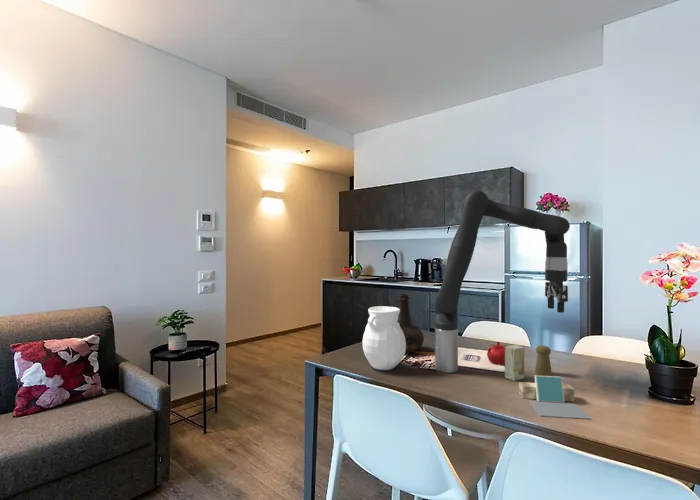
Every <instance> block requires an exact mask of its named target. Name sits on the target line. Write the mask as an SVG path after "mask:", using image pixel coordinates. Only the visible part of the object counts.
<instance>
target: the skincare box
mask: <svg viewBox="0 0 700 500" xmlns="http://www.w3.org/2000/svg"><path fill="white" fill-rule="evenodd" d="M506 346H507V347H506ZM506 346H504V347H505V364H504V378H505V379H509V380H511V381H513V382H514V381H520V380H523V379H525V347H524V346H520V345H518V344H514V345H506Z"/></svg>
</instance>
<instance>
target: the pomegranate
mask: <svg viewBox="0 0 700 500" xmlns="http://www.w3.org/2000/svg"><path fill="white" fill-rule="evenodd" d="M489 346H490V347H489V348H488V350H487V352H486V356H487V359H488V361H490V363H492V364H494V365H498V364H500V365H501V366H502V365H503V364H504V365H505V347H507V346H508V345H504V344H500V341H497V342H496V343H495V345H494V344H489Z"/></svg>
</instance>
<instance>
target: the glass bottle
mask: <svg viewBox="0 0 700 500" xmlns="http://www.w3.org/2000/svg"><path fill="white" fill-rule="evenodd" d="M398 295H399V297H398V298H397V299H398V300H399V303H398V305H399V307H398V308H399V309H400V313H399V315H398V321H397V323H399V324H400V328H401V329H402V331H403V333H404V336H405V342H406V351H405V354H410V353H414V352H417V351H418V350H420V348H421V347H422V346H423V343H424V341H425V339H424V338H425V337H424V333H423V331H422V330H421V329H420V328H419V327H417V326H416V325H415V324H413V322H412V318H411V315H410V305H409V303H410V302H409V299H410V297H409V294H407V293H399V294H398Z"/></svg>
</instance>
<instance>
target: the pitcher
mask: <svg viewBox="0 0 700 500" xmlns="http://www.w3.org/2000/svg"><path fill="white" fill-rule="evenodd" d="M367 310H368V311H367V312H368V315H369V317H368V319H367V324H366V326H365V330H364V333H363V335H362V341H361V342H362V350H363V353H364V356H365V358H366V359H367V361H368V363H369V364H370V366H371V367H373V369H376V370H380V371H389V370H392V369H394V368H396V367H397V365H399V364H400V363H401V361H402V360H403V359H404V357H405V354H406V353H405V351H406V342H405V336H404V333H403V331H402V329H401V328H400V324H399V323H398V318H399V313H400V309H399V307H395V306H384V305H378V306H377V305H376V306H371V307H369V308H368V309H367Z"/></svg>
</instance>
